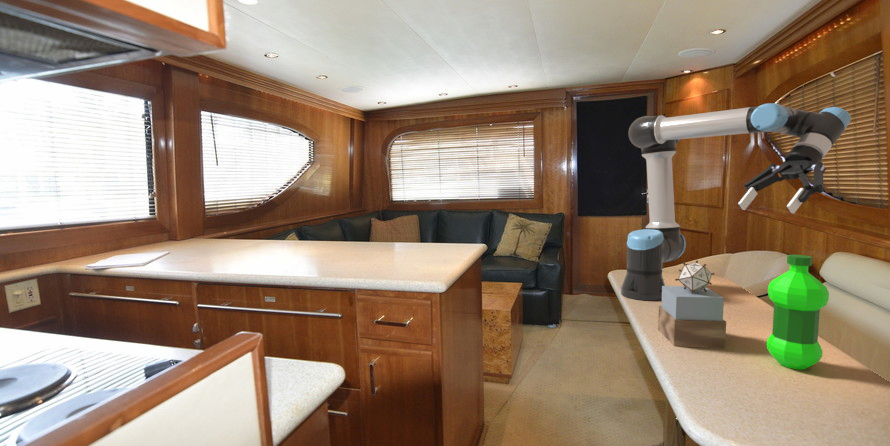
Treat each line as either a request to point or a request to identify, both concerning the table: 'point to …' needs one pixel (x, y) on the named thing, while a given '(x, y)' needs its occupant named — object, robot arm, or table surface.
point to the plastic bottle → (796, 315)
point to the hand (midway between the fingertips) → (764, 208)
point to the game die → (695, 276)
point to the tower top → (692, 304)
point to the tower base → (692, 331)
